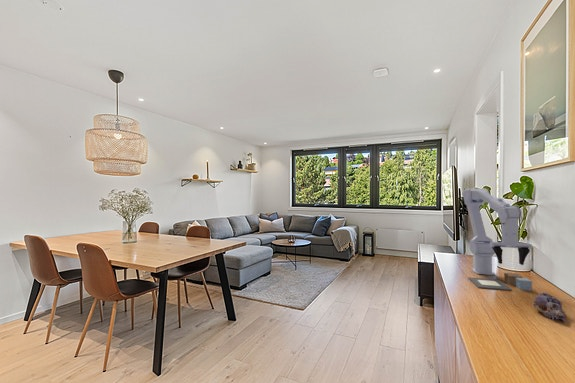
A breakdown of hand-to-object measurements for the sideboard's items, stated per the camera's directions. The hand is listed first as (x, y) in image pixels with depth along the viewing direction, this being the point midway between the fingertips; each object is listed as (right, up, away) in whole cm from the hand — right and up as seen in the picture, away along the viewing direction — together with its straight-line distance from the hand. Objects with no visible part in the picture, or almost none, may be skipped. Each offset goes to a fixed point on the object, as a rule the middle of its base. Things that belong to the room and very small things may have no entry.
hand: (510, 263), depth 119 cm
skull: (-11, -10, -30) cm, 33 cm away
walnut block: (+3, -10, +2) cm, 11 cm away
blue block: (+2, -10, -4) cm, 11 cm away
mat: (-9, -10, +1) cm, 13 cm away
